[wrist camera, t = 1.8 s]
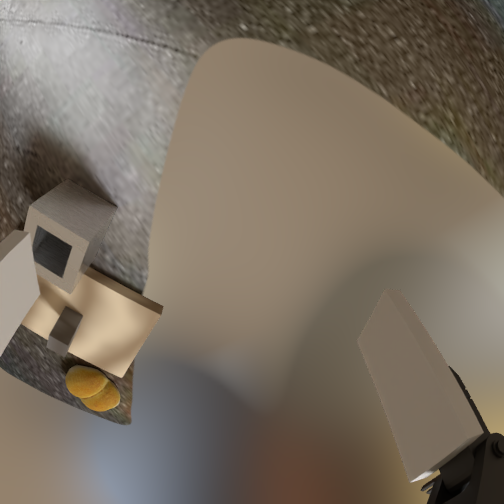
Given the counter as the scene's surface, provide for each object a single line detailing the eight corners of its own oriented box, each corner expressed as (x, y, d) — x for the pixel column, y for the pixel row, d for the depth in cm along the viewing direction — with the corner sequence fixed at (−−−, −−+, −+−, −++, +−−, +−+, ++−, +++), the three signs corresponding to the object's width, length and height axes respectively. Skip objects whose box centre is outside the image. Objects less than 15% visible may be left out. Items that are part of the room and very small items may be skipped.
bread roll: (90, 357, 38) (82, 378, 34) (129, 393, 42) (125, 414, 38) (58, 368, 39) (49, 387, 35) (95, 401, 43) (89, 419, 39)
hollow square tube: (51, 227, 28) (17, 261, 22) (67, 178, 25) (29, 205, 19) (97, 254, 30) (70, 294, 23) (117, 207, 27) (89, 241, 21)
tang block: (14, 309, 33) (-8, 340, 27) (27, 228, 27) (-5, 259, 22) (124, 369, 38) (114, 407, 33) (163, 306, 33) (152, 349, 28)
